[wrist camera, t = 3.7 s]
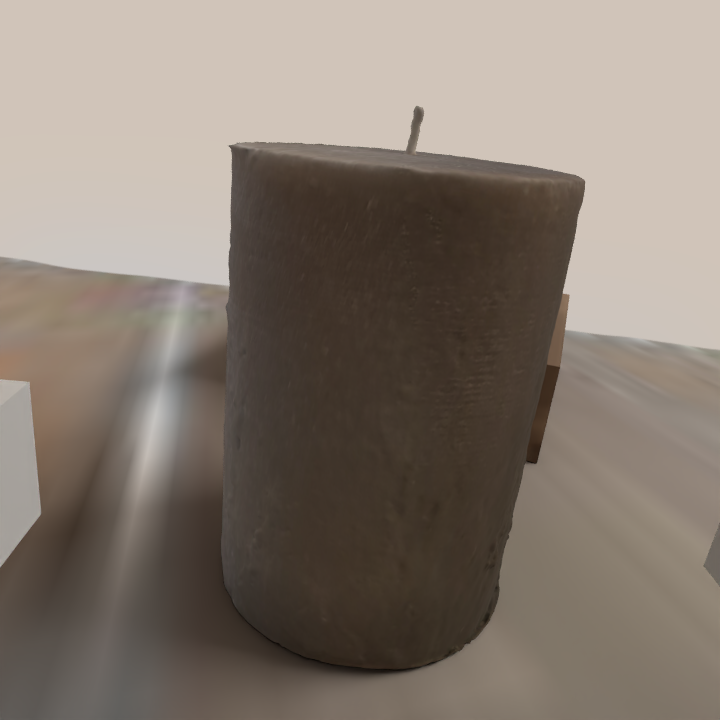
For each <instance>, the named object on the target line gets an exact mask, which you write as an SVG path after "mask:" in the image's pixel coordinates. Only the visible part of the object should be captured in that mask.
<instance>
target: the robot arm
mask: <svg viewBox="0 0 720 720" xmlns="http://www.w3.org/2000/svg"><path fill="white" fill-rule="evenodd" d="M40 515H41V506H40V495H39V484H38V473H37V462H36V451H35V440H34V429H33V418H32V407H31V396H30V385H29V382H23V381H12V380H1V379H0V567H1V566H2V564H3V563H4V562H5V561H6V559H7V558H8V557H9V555H10V554H11V553H12V551H13V550H14V549H15V548H16V546H17V545H18V544H19V542H20V541H21V540H22V538H23V537H24V536H25V534H26V533H27V532H28V531H29V529H30V528H31V527H32V525H33V524H34V523H35V521H36V520H37V519H38V518H39V516H40ZM704 567H705V568H706V569H707V571H708V572H709V573H710V574H711V576H712V577H713V578H714V580H715V581H716V582H717V583H718V585H719V586H720V524H719V526H718V529H717V532H716V534H715V537H714V540H713V542H712V545H711V548H710V550H709V553H708V556H707V558H706V561H705V563H704Z"/></svg>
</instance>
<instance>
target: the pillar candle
mask: <svg viewBox="0 0 720 720" xmlns="http://www.w3.org/2000/svg"><path fill="white" fill-rule="evenodd" d="M423 116H424V110H423V108H421V107H419V106H416V107H415V109H414V118H413V121H412V125H411V135H410V138H409V141H408V146H407V149H406V151H399V150H390V149H381V148H367V147H350V146H335V145H324V144H303V143H265V142H254V143H247V142H245V143H237V144H235V145H230V146H229V147H230V148H231V152H232V187H231V233H230V244H231V247H230V251H229V280H230V287H229V299H228V303H227V305H226V311H227V319H228V334H227V367H226V398H225V420H224V474H223V508H222V536H221V556H222V566H223V575H224V585H225V587H226V590H227V591H228V593H229V595H230V597H231V598H232V601H233V604H234V605H235V607H236V608H237V610H238V612H239V613H240V614H241V615H242V616H243V617H244V618H245V620H246V621H247V622H248V623H249V624H251V625H252V626H253V627H254V628H256V629H257V630H258V631H259V632H260V633H262V634H263V635H264V636H266V637H267V638H268V639H270V640H271V641H274V642H276V643H279V644H280V645H281V646H282V647H285V648H286V649H289V650H290V651H292V652H294V653H297V654H300V655H301V656H303V657H307V658H310V659H316V660H320V661H321V662H326V663H330V664H336V665H345V666H354V667H362V668H375V669H406V668H413V667H420V666H423V665H426V664H428V663H429V662H437V661H439V660H441V659H444V658H446V657H448V656H449V655H451V654H453V653H455V652H457V651H460V650H461V649H462V648H463V647H464V644H465V643H467V644H469V643H470V642H471V640H474V639H475V638H476V637H477V636H478V635H479V634H480V633H481V631H482V630H483V628H484V627H485V626H486V625H487V624H488V622H489V620H490V618H491V616H492V614H493V612H494V609H495V606H496V604H497V600H498V596H499V577H500V576H499V574H500V568H501V563H502V556H503V553H504V548H505V545H506V541H507V540H508V538H509V535H508V534H509V532H510V530H511V527H512V517H513V510H514V507H515V502H516V499H517V496H518V492H519V487H520V484H521V479H522V475H523V469H524V465H525V461H526V457H527V447H528V443H529V440H530V434H531V427H532V423H533V420H534V418H535V414H536V409H537V405H538V402H539V398H540V393H541V388H542V384H543V381H544V377H545V371H546V366H547V361H548V354H549V349H550V345H551V341H552V336H553V332H554V329H555V324H556V320H557V316H558V312H559V308H560V304H561V300H562V294H563V288H564V284H565V279H566V274H567V270H568V265H569V261H570V257H571V252H572V247H573V243H574V238H575V233H576V227H577V218H578V214H579V210H580V208H581V205H582V202H583V196H584V190H585V181H584V180H583V179H582V178H580V177H579V176H576V175H572V174H567V173H563V172H558V171H553V170H547V169H543V168H538V167H532V166H525V165H516V164H510V163H502V162H493V161H487V160H479V159H474V158H466V157H457V156H452V155H441V154H432V153H425V152H415V149H416V145H417V141H418V136H419V132H420V124H421V122H422V120H423Z"/></svg>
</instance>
